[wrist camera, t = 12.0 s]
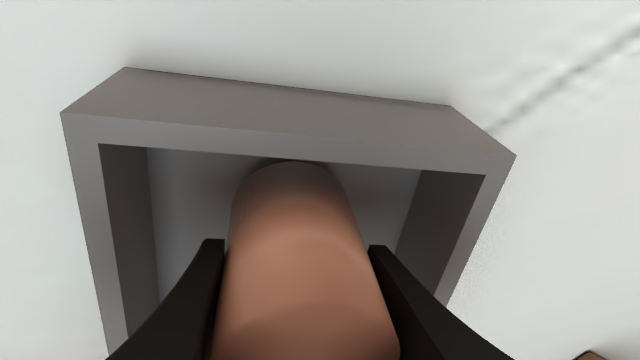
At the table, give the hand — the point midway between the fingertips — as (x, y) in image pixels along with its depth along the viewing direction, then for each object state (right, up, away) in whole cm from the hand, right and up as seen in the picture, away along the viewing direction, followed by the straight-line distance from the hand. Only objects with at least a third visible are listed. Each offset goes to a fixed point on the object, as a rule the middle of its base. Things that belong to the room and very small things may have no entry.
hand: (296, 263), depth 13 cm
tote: (-1, -1, +6) cm, 7 cm away
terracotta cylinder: (0, +1, +3) cm, 3 cm away
